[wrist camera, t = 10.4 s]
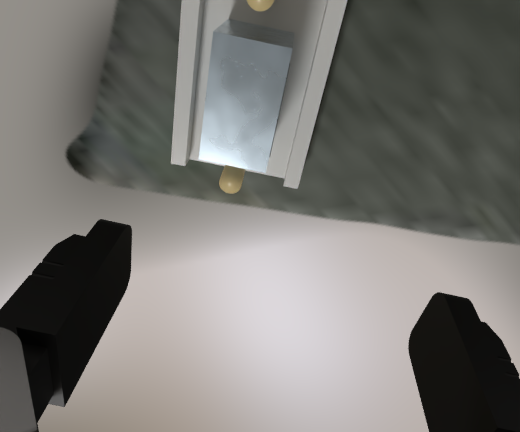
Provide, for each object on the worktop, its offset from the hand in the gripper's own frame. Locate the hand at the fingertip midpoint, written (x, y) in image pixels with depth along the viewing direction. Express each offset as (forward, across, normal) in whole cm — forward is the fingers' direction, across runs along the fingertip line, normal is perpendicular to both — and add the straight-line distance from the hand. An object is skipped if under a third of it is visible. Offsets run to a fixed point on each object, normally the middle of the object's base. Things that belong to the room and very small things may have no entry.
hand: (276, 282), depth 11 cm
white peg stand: (+19, +3, 0) cm, 19 cm away
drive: (+18, +3, 0) cm, 19 cm away
